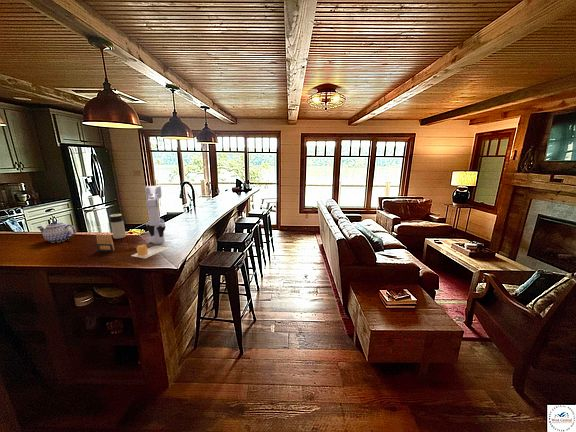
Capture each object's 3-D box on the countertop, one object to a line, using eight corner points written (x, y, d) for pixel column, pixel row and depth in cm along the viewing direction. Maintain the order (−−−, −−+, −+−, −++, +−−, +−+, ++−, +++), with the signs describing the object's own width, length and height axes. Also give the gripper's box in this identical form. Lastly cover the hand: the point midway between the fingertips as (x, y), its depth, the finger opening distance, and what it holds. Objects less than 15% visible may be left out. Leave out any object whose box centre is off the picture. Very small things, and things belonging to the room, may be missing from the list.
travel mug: (127, 235, 183) (124, 213, 178) (122, 238, 175) (118, 216, 170) (117, 235, 181) (112, 213, 177) (111, 239, 174) (106, 216, 169)
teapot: (85, 236, 178) (81, 218, 175) (68, 243, 163) (63, 224, 160) (51, 237, 177) (46, 218, 173) (31, 244, 162) (25, 224, 158)
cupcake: (135, 254, 143) (134, 247, 142) (143, 251, 148) (142, 244, 147) (142, 255, 142) (141, 248, 140) (149, 252, 147) (148, 245, 145)
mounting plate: (131, 257, 142) (129, 250, 141) (155, 247, 159) (154, 240, 157) (145, 260, 138) (144, 253, 137) (169, 249, 155) (168, 242, 154)
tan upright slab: (115, 250, 153) (112, 233, 150) (113, 251, 151) (110, 234, 148) (100, 250, 154) (96, 233, 151) (98, 251, 152) (94, 234, 149)
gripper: (140, 217, 149) (143, 237, 152) (157, 218, 144) (160, 239, 147) (149, 215, 155) (152, 234, 158) (166, 216, 151) (169, 235, 154)
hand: (156, 236), depth 153 cm, fingers open, 7 cm apart
